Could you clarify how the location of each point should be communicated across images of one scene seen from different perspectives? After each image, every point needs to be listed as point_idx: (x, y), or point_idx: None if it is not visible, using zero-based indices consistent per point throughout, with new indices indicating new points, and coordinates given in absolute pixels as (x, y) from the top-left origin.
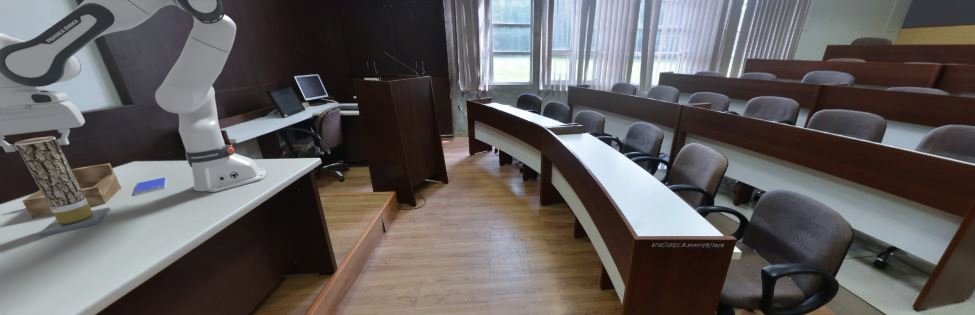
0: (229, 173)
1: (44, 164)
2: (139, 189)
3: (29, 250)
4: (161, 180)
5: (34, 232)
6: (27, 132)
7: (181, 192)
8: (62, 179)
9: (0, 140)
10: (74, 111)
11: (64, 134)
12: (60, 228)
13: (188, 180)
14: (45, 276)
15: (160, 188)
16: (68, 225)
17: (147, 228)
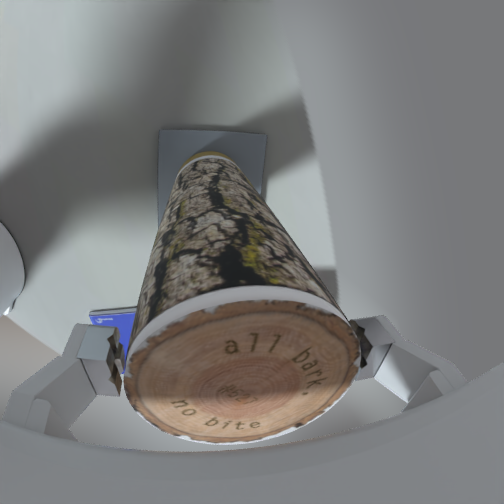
0: None
1: (211, 204)
2: None
3: (261, 55)
4: None
5: (284, 179)
6: (277, 447)
7: (39, 251)
8: (181, 189)
9: (419, 385)
10: None
11: (35, 383)
12: (227, 133)
13: (63, 332)
14: None
15: (96, 312)
16: (215, 143)
17: (58, 29)
